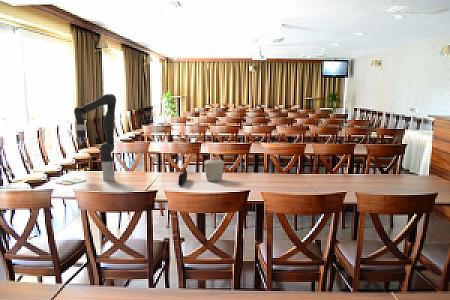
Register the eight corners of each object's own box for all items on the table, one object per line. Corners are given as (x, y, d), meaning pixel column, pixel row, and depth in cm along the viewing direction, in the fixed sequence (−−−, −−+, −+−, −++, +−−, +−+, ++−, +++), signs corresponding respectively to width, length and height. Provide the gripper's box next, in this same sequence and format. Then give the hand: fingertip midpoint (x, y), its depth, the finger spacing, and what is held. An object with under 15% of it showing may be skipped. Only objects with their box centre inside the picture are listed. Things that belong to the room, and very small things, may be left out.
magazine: (181, 176, 331) (186, 160, 358) (177, 176, 331) (182, 160, 358) (182, 195, 338) (187, 177, 365) (179, 195, 338) (183, 177, 365)
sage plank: (86, 182, 351) (86, 180, 351) (76, 184, 343) (76, 182, 343) (74, 180, 360) (74, 178, 360) (65, 182, 352) (64, 180, 351)
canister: (207, 178, 370) (207, 155, 367) (226, 179, 366) (226, 155, 363) (201, 182, 353) (201, 158, 350) (221, 183, 348) (221, 158, 345)
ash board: (75, 184, 342) (75, 182, 342) (67, 186, 336) (67, 184, 335) (63, 182, 351) (63, 180, 351) (55, 183, 344) (55, 181, 344)
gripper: (89, 129, 361) (90, 149, 363) (79, 128, 368) (80, 147, 370) (82, 130, 355) (83, 149, 357) (72, 129, 362) (73, 148, 364)
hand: (81, 148), depth 364 cm, fingers closed
